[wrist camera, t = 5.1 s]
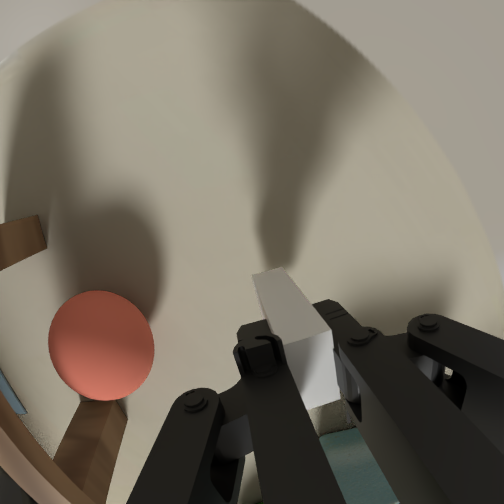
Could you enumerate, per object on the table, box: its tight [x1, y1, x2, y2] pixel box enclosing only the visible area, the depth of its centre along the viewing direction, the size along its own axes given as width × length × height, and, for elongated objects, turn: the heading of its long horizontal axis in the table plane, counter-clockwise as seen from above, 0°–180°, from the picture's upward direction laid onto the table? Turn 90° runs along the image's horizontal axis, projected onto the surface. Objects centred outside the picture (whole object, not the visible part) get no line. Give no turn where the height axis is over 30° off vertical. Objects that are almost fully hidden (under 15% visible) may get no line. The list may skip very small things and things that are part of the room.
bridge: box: [0, 215, 128, 504], centre depth 11 cm, size 3×14×9 cm, turn 14°
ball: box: [48, 290, 154, 401], centre depth 13 cm, size 6×6×6 cm
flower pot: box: [319, 428, 400, 504], centre depth 16 cm, size 9×9×9 cm
